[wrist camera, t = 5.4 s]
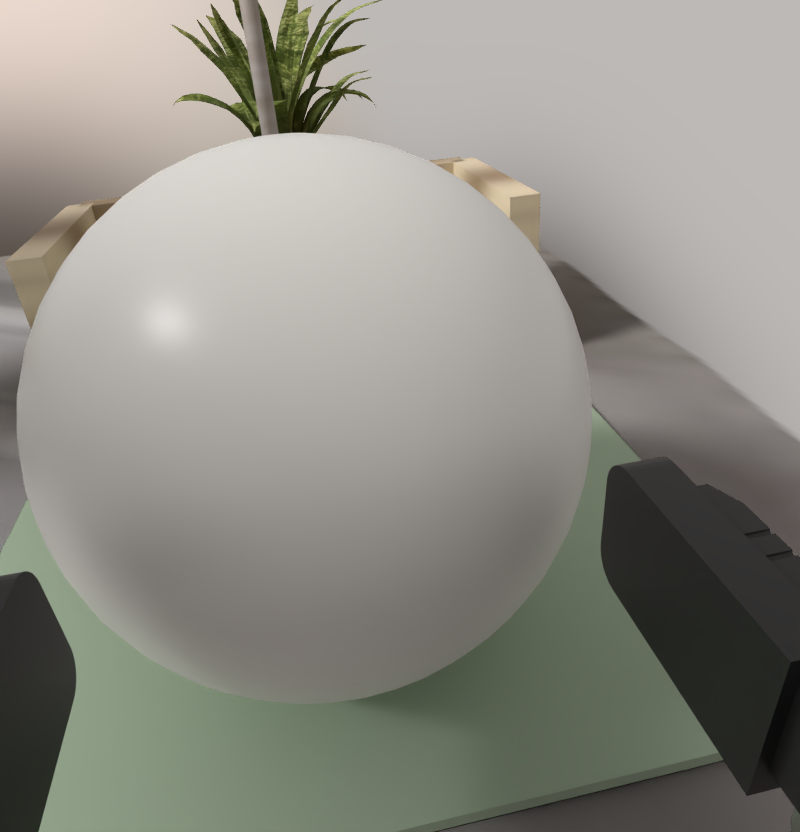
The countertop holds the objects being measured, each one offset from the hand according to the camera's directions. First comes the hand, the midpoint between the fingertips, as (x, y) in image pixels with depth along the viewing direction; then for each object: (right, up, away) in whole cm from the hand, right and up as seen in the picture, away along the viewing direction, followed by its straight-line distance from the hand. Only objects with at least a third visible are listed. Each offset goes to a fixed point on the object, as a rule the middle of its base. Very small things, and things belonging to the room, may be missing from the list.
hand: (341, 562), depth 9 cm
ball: (-1, +2, +4) cm, 5 cm away
